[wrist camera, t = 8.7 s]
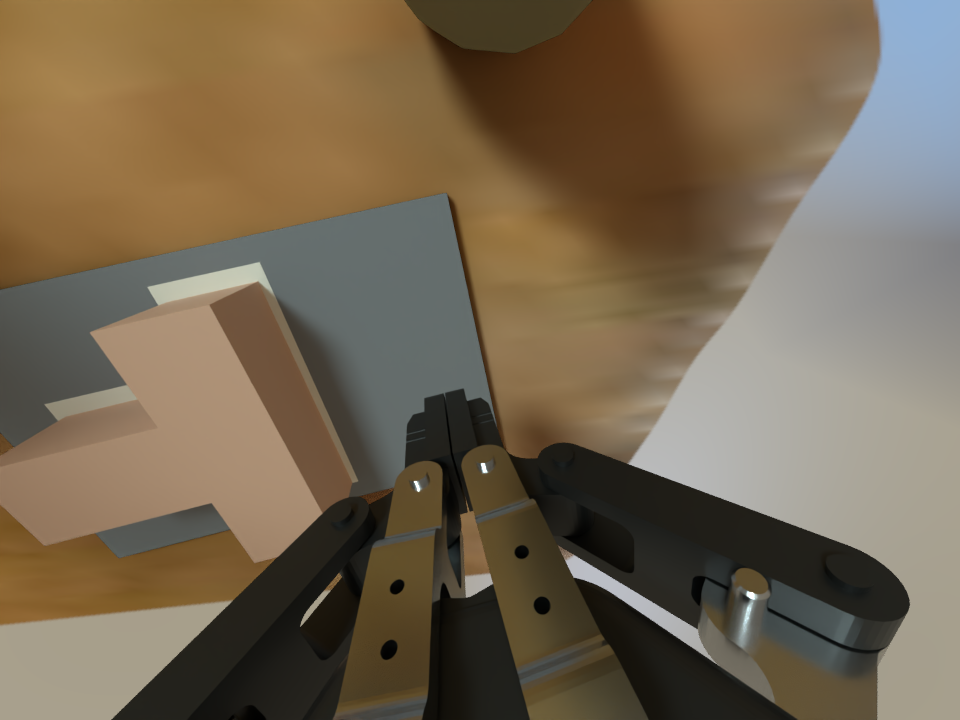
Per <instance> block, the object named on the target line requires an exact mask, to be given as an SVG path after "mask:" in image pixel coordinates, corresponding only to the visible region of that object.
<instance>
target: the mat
mask: <svg viewBox="0 0 960 720" xmlns="http://www.w3.org/2000/svg"><path fill="white" fill-rule="evenodd" d="M257 281H258V282H259V284H260V287H261V289H262V291H263V293H264V295H265V297H266V299H267V301H268V304H269V306H270V308H271V310H272V312H273V314H274V316H275V319H276V321H277V323H278V325H279V327H280V329H281V331H282V333H283V336H284V338H285V340H286V342H287V344H288V346H289V348H290V350H291V353H292V355H293V357H294V359H295V361H296V363H297V365H298V368H299V370H300V372H301V374H302V376H303V378H304V380H305V382H306V385H307V387H308V389H309V391H310V393H311V395H312V397H313V399H314V402H315V404H316V406H317V408H318V410H319V412H320V414H321V417H322V419H323V421H324V423H325V425H326V427H327V429H328V431H329V434H330V436H331V438H332V440H333V442H334V444H335V446H336V448H337V451H338V453H339V455H340V457H341V459H342V461H343V463H344V466H345V468H346V470H347V472H348V474H349V476H350V478H351V480H352V486H351V490H350V494H349V497H358V496H362V495H366V494H370V493H374V492H378V491H382V490H386V489H390V488H393V487H394V486H395V481H396V479H397V477H398V475H399V474H400V473H401V472H402V471H403V470H404V469H405V451H406V435H407V434H406V433H407V423H408V422H409V420H410V419H411V417H412V415H413V414H417V413H421V412H424V398H426V397H430V396H434V395H438V394H442V393H444V396H445V393H446V392H450V391H454V390H458V389H462V388H464V391H465V395H466V399H467V401H468V400H472V399H476V398H480V397H481V398H482V399H484V400H485V401H486V402H488V403H489V406H490V409H491V412H492V415H493V418H494V420H495V416H494V411H493V406H492V402H491V397H490V392H489V388H488V383H487V378H486V374H485V369H484V364H483V360H482V355H481V350H480V346H479V341H478V336H477V332H476V327H475V322H474V318H473V313H472V308H471V304H470V299H469V294H468V290H467V285H466V280H465V276H464V271H463V266H462V262H461V257H460V252H459V248H458V243H457V238H456V234H455V229H454V224H453V220H452V215H451V210H450V206H449V201H448V196H447V193H443V194H439V195H434V196H430V197H425V198H420V199H416V200H411V201H407V202H402V203H397V204H393V205H388V206H384V207H379V208H374V209H370V210H365V211H361V212H356V213H351V214H347V215H342V216H338V217H333V218H328V219H324V220H319V221H315V222H310V223H305V224H301V225H296V226H291V227H287V228H282V229H278V230H273V231H268V232H264V233H259V234H255V235H250V236H245V237H241V238H236V239H232V240H227V241H222V242H218V243H213V244H209V245H204V246H199V247H195V248H190V249H186V250H181V251H176V252H172V253H167V254H162V255H158V256H153V257H149V258H144V259H139V260H135V261H130V262H126V263H121V264H116V265H112V266H107V267H103V268H98V269H93V270H89V271H84V272H80V273H75V274H70V275H66V276H61V277H57V278H52V279H47V280H43V281H38V282H34V283H29V284H24V285H20V286H15V287H10V288H6V289H1V290H0V433H1V434H2V435H3V436H4V437H5V438H6V439H7V440H8V441H9V442H10V444H11V445H12V446H13V447H16V446H17V445H19V444H21V443H22V442H24V441H26V440H27V439H29V438H31V437H32V436H34V435H36V434H37V433H39V432H41V431H42V430H44V429H46V428H47V427H49V426H51V425H52V424H54V423H56V422H57V421H59V420H61V419H62V418H64V417H66V416H70V415H74V414H79V413H83V412H87V411H91V410H95V409H99V408H103V407H108V406H112V405H116V404H120V403H124V402H128V401H132V400H137V398H136V397H135V395H134V394H133V392H132V391H131V390H130V388H129V387H128V385H127V384H126V383H125V381H124V380H123V378H122V377H121V376H120V374H119V373H118V371H117V370H116V369H115V367H114V366H113V364H112V363H111V362H110V360H109V359H108V357H107V356H106V355H105V353H104V352H103V350H102V349H101V348H100V346H99V345H98V343H97V342H96V341H95V339H94V338H93V336H92V335H91V334H90V332H92V331H94V330H97V329H99V328H102V327H105V326H107V325H110V324H112V323H115V322H117V321H120V320H123V319H125V318H128V317H130V316H133V315H135V314H138V313H140V312H143V311H146V310H148V309H151V308H153V307H156V306H158V305H161V304H164V303H166V302H170V301H174V300H179V299H183V298H187V297H192V296H196V295H201V294H205V293H209V292H214V291H218V290H222V289H227V288H231V287H235V286H240V285H244V284H248V283H253V282H257ZM445 399H446V398H445ZM495 423H496V420H495ZM496 426H497V425H496ZM226 530H230V528H229V527H228V525H227V524H226V522H225V521H224V520H223V518H222V517H221V515H220V514H219V513H218V511H217V510H216V508H215V507H214V506H213V504H212V503H210V504H206V505H202V506H198V507H194V508H190V509H186V510H182V511H178V512H175V513H171V514H167V515H163V516H159V517H155V518H151V519H147V520H143V521H140V522H136V523H132V524H128V525H124V526H120V527H116V528H112V529H108V530H105V531H101V532H97V533H95V534H96V535H97V536H98V537H99V538H100V539H101V540H102V541H103V542H104V543H105V544H106V545H107V546H108V547H109V548H110V549H111V551H112V552H113V553H114V554H115V555H116V556H117V557H118V558H121V557H125V556H129V555H133V554H137V553H141V552H145V551H149V550H152V549H156V548H160V547H164V546H168V545H172V544H176V543H180V542H184V541H187V540H191V539H195V538H199V537H203V536H207V535H211V534H215V533H218V532H222V531H226Z"/></svg>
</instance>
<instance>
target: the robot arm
mask: <svg viewBox="0 0 960 720" xmlns="http://www.w3.org/2000/svg"><path fill="white" fill-rule="evenodd" d="M445 398H446V399H445ZM406 434H407V435H406V451H405V469H404V470H403V471H402V472H401V473H400V474H399V475H398V477H397V479H396V481H395V486H394V490H393V491H392V492H390V493H389V494H388V495H386V496H384V497H383V498H381V499H379V500H377V501H375V502H373V503H371V504H369V505H368V503H367V501H366V500H365V499H363V498H361V497H348V498H345V499H342V500H340V501H338V502H336V503H334V504H333V505H331V506H330V507H329V508H328V509H327V510H326V511H324V512H323V513H322V514H321V515H320V516H319V517H318V518H317V519H316V520H315V521H314V522H313V523H312V524H311V525H310V526H309V527H308V528H307V529H306V530H305V531H304V532H303V533H302V534H301V535H300V536H299V537H298V538H297V539H296V540H295V541H294V542H293V543H292V544H291V545H290V546H289V547H288V548H287V549H286V550H285V551H284V552H283V553H281V554H280V555H279V556H278V557H277V558H276V559H275V560H274V561H273V562H272V563H271V564H270V565H269V566H268V567H267V568H266V569H265V570H264V571H263V572H262V573H261V574H260V575H259V576H258V577H257V578H256V579H255V580H254V581H253V582H252V583H251V584H250V585H249V586H248V587H247V588H246V589H245V590H244V591H243V592H242V593H241V594H240V595H238V596H237V597H236V598H235V599H234V600H233V601H232V602H231V603H230V604H229V605H228V606H227V607H226V608H225V609H224V610H223V611H222V612H221V613H220V614H219V615H218V616H217V617H216V618H215V619H214V620H213V621H212V622H211V623H210V624H209V625H208V626H207V627H206V628H205V629H204V630H203V631H202V632H201V633H200V634H199V635H198V636H197V637H196V638H194V639H193V641H191V643H189V644H188V645H187V646H186V647H185V648H184V649H183V650H182V651H181V652H180V653H179V654H178V655H177V656H176V657H175V658H174V659H173V660H172V661H171V662H170V663H169V664H168V665H167V666H166V667H165V668H164V669H163V670H162V671H161V672H160V673H159V674H158V675H157V676H156V677H155V678H154V679H153V680H152V681H150V682H149V683H148V684H147V685H146V686H145V687H144V688H143V689H142V690H141V691H140V692H139V693H138V694H137V695H136V696H135V697H134V698H133V699H132V700H131V701H130V702H129V703H128V704H127V705H126V706H125V707H124V708H123V709H122V710H121V711H120V712H119V713H118V714H117V715H116V716H115V717H114V718H113V719H112V720H877V666H878V664H879V663H880V661H881V659H882V657H883V656H884V654H885V652H886V650H887V648H888V647H889V645H890V643H891V641H892V639H893V637H894V636H895V634H896V632H897V630H898V628H899V627H900V625H901V623H902V621H903V619H904V618H905V616H906V614H907V612H908V610H909V606H910V603H909V597H908V594H907V591H906V590H905V588H904V586H903V585H902V583H901V582H900V581H899V579H898V578H897V577H896V576H895V575H894V574H893V573H892V572H891V571H890V570H889V569H887V568H886V567H885V566H884V565H883V564H881V563H880V562H879V561H877V560H876V559H874V558H873V557H871V556H869V555H868V554H866V553H864V552H862V551H860V550H858V549H855V548H853V547H851V546H848V545H845V544H843V543H840V542H837V541H834V540H832V539H829V538H826V537H824V536H821V535H818V534H815V533H813V532H810V531H807V530H804V529H802V528H799V527H797V526H794V525H791V524H789V523H785V522H783V521H780V520H777V519H775V518H772V517H770V516H767V515H764V514H761V513H759V512H756V511H753V510H750V509H748V508H745V507H743V506H740V505H737V504H734V503H732V502H729V501H726V500H723V499H721V498H718V497H715V496H713V495H710V494H707V493H705V492H702V491H699V490H697V489H694V488H691V487H688V486H686V485H683V484H680V483H678V482H675V481H672V480H669V479H667V478H664V477H661V476H659V475H656V474H653V473H651V472H648V471H645V470H642V469H640V468H637V467H634V466H632V465H629V464H626V463H624V462H621V461H618V460H616V459H613V458H610V457H607V456H605V455H602V454H599V453H597V452H594V451H591V450H588V449H586V448H583V447H580V446H578V445H575V444H571V443H557V444H553V445H550V446H548V447H546V448H545V449H543V450H542V451H541V453H540V454H539V456H538V458H536V459H525V458H519V457H515V456H513V455H511V454H509V453H508V452H507V451H506V450H505V449H504V447H503V444H502V441H501V438H500V435H499V432H498V429H497V426H496V423H495V420H494V418H493V415H492V412H491V409H490V406H489V403H488V402H486V401H485V400H484V399H482V398H481V397H480V398H476V399H472V400H468V401H467V399H466V395H465V391H464V388H462V389H458V390H454V391H450V392H446V393H445V396H444V393H442V394H438V395H434V396H430V397H426V398H424V412H421V413H417V414H413V415H412V417H411V419H410V420H409V422H408V423H407V433H406ZM465 497H466V498H465ZM466 500H467V504H468V507H469V511H474V515H475V519H476V523H477V526H478V530H479V534H480V537H481V541H482V545H483V548H484V552H485V556H486V559H487V563H488V567H489V570H490V574H491V578H492V581H493V584H492V585H490V586H489V587H487V588H485V589H484V590H482V591H480V592H478V593H477V594H475V595H473V596H471V597H468V598H466V594H465V569H464V546H463V535H462V531H461V518H460V514H463V513H467V512H468V511H467V505H466ZM557 545H559V546H560V547H562V548H564V549H565V550H567V551H569V552H570V553H572V554H574V555H575V556H577V557H578V558H580V559H582V560H583V561H585V562H587V563H589V564H590V565H592V566H593V567H595V568H597V569H598V570H600V571H602V572H603V573H605V574H607V575H608V576H610V577H612V578H613V579H615V580H617V581H618V582H620V583H622V584H623V585H625V586H627V587H628V588H630V589H632V590H633V591H635V592H637V593H638V594H640V595H642V596H643V597H645V598H647V599H648V600H650V601H652V602H653V603H655V604H657V605H658V606H660V607H661V608H663V609H665V610H666V611H668V612H670V613H671V614H673V615H675V616H676V617H678V618H680V619H681V620H683V621H685V622H686V623H688V624H690V625H692V626H693V627H695V628H696V629H698V633H699V636H700V639H701V642H702V644H703V646H704V648H705V649H706V650H707V652H708V654H709V655H710V656H711V658H712V659H713V660H714V661H715V662H716V663H717V664H718V665H719V666H718V665H717V664H715V663H714V662H712V661H711V660H709V659H708V658H707V657H705V656H703V655H702V654H701V653H699V652H698V651H696V650H695V649H693V648H692V647H690V646H689V645H687V644H686V643H684V642H683V641H681V640H680V639H678V638H677V637H676V636H674V635H673V634H671V633H670V632H668V631H667V630H665V629H663V628H662V627H661V626H659V625H658V624H656V623H655V622H653V621H652V620H650V619H649V618H647V617H646V616H645V615H643V614H642V613H640V612H639V611H637V610H636V609H634V608H633V607H631V606H630V605H628V604H627V603H625V602H624V601H622V600H621V599H619V598H618V597H616V596H615V595H614V594H612V593H610V592H609V591H607V590H605V589H603V588H601V587H599V586H598V585H595V584H593V583H590V582H587V581H585V580H581V579H577V578H573V576H572V574H571V572H570V570H569V568H568V566H567V564H566V562H565V560H564V558H563V556H562V554H561V552H560V550H559V548H558V546H557ZM338 573H340V575H341V576H342V578H341V579H340V580H339V582H338V583H337V584H336V585H335V586H334V588H333V589H332V590H331V591H330V592H329V594H328V595H327V596H326V597H325V599H324V600H323V601H322V602H321V603H320V604H319V606H318V607H317V608H316V609H315V611H314V612H313V613H312V614H311V615H310V617H309V618H308V619H307V620H306V621H305V623H304V624H303V625H302V626H301V627H300V624H301V621H302V618H303V616H304V614H305V613H306V611H307V610H308V609H309V607H310V606H311V605H312V604H313V603H314V601H315V600H316V599H317V598H318V596H319V595H320V594H321V593H322V592H323V591H324V590H325V589H326V587H327V586H328V585H329V584H330V583H331V581H332V580H333V579H334V578H335V577H336V576H337V574H338Z"/></svg>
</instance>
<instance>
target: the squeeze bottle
mask: <svg viewBox="0 0 960 720" xmlns="http://www.w3.org/2000/svg"><path fill="white" fill-rule="evenodd" d="M404 1H405V2H406V3H407V5H408V6H409V7H410V9H411V10H412V11H413V13H414V14H415V15H416V17H417V18H418V19H419V20H421V21H422V22H423V23H425V24H426V25H427V26H429V27H430V28H431V29H433V30H434V31H435V32H437V33H439V34H440V35H442V36H443V37H445V38H447V39H448V40H450V41H451V42H453V43H455V44H456V45H458V46H459V47H461V48H463V49H473V50H484V51H494V52H504V53H518V52H520V51H522V50H525V49H527V48H530V47H532V46H534V45H537V44H539V43H541V42H544V41H546V40H548V39H551V38H553V37H556V36H558V35H560V34H562V33H563V32H564V31H565V30H566V29H567V27H568V26H569V25H570V24H571V23H572V22H573V21H574V20H575V19H576V18H577V17H578V15H579V14H580V13H581V12H582V11H583V10H584V9H585V8H586V7H587V6H588V5H589V3H590V2H591V1H592V0H404Z"/></svg>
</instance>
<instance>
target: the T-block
mask: <svg viewBox="0 0 960 720" xmlns="http://www.w3.org/2000/svg"><path fill="white" fill-rule="evenodd" d="M90 334H91V335H92V336H93V338H94V339H95V341H96V342H97V343H98V345H99V346H100V348H101V349H102V350H103V352H104V353H105V355H106V356H107V357H108V359H109V360H110V362H111V363H112V364H113V366H114V367H115V369H116V370H117V371H118V373H119V374H120V376H121V377H122V378H123V380H124V381H125V383H126V384H127V385H128V387H129V388H130V390H131V391H132V392H133V394H134V395H135V397H136V398H137V400H132V401H128V402H124V403H120V404H116V405H112V406H108V407H103V408H99V409H95V410H91V411H87V412H83V413H79V414H74V415H70V416H66V417H64V418H62V419H61V420H59V421H57V422H56V423H54V424H52V425H51V426H49V427H47V428H46V429H44V430H42V431H41V432H39V433H37V434H36V435H34V436H32V437H31V438H29V439H27V440H26V441H24V442H22V443H21V444H19V445H17V446H16V447H14V448H12V449H11V450H9V451H7V452H6V453H4V454H2V455H1V456H0V505H1V506H2V507H4V508H5V509H6V510H7V511H8V512H9V513H10V514H11V515H12V516H13V517H14V518H15V519H16V520H17V521H18V522H20V523H21V524H22V525H23V526H24V527H25V528H26V529H27V530H28V531H29V532H30V533H31V534H32V535H33V536H34V537H35V538H37V539H38V540H39V541H40V542H41V543H42V544H43V545H44V546H46V545H50V544H54V543H58V542H62V541H66V540H70V539H74V538H77V537H81V536H85V535H89V534H93V533H97V532H101V531H105V530H108V529H112V528H116V527H120V526H124V525H128V524H132V523H136V522H140V521H143V520H147V519H151V518H155V517H159V516H163V515H167V514H171V513H175V512H178V511H182V510H186V509H190V508H194V507H198V506H202V505H206V504H210V503H212V504H213V506H214V507H215V508H216V510H217V511H218V513H219V514H220V515H221V517H222V518H223V520H224V521H225V522H226V524H227V525H228V527H229V528H230V529H231V531H232V532H233V533H234V535H235V536H236V538H237V539H238V540H239V542H240V543H241V545H242V546H243V547H244V549H245V550H246V552H247V553H248V554H249V556H250V557H251V559H252V560H253V561H254V563H257V562H261V561H264V560H268V559H272V558H275V557H278V556H279V555H280V554H281V553H283V552H284V551H285V550H286V549H287V548H288V547H289V546H290V545H291V544H292V543H293V542H294V541H295V540H296V539H297V538H298V537H299V536H300V535H301V534H302V533H303V532H304V531H305V530H306V529H307V528H308V527H309V526H310V525H311V524H312V523H313V522H314V521H315V520H316V519H317V518H318V517H319V516H320V515H321V514H322V513H323V512H324V511H326V510H327V509H328V508H329V507H330V506H331V505H333V504H334V503H336V502H338V501H340V500H342V499H345V498H348V497H349V494H350V490H351V486H352V480H351V478H350V476H349V474H348V472H347V470H346V468H345V466H344V463H343V461H342V459H341V457H340V455H339V453H338V451H337V448H336V446H335V444H334V442H333V440H332V438H331V436H330V434H329V431H328V429H327V427H326V425H325V423H324V421H323V419H322V417H321V414H320V412H319V410H318V408H317V406H316V404H315V402H314V399H313V397H312V395H311V393H310V391H309V389H308V387H307V385H306V382H305V380H304V378H303V376H302V374H301V372H300V370H299V368H298V365H297V363H296V361H295V359H294V357H293V355H292V353H291V350H290V348H289V346H288V344H287V342H286V340H285V338H284V336H283V333H282V331H281V329H280V327H279V325H278V323H277V321H276V319H275V316H274V314H273V312H272V310H271V308H270V306H269V304H268V301H267V299H266V297H265V295H264V293H263V291H262V289H261V287H260V284H259V282H258V281H257V282H253V283H248V284H244V285H240V286H235V287H231V288H227V289H222V290H218V291H214V292H209V293H205V294H201V295H196V296H192V297H187V298H183V299H179V300H174V301H170V302H166V303H164V304H161V305H158V306H156V307H153V308H151V309H148V310H146V311H143V312H140V313H138V314H135V315H133V316H130V317H128V318H125V319H123V320H120V321H117V322H115V323H112V324H110V325H107V326H105V327H102V328H99V329H97V330H94V331H92V332H90Z"/></svg>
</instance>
